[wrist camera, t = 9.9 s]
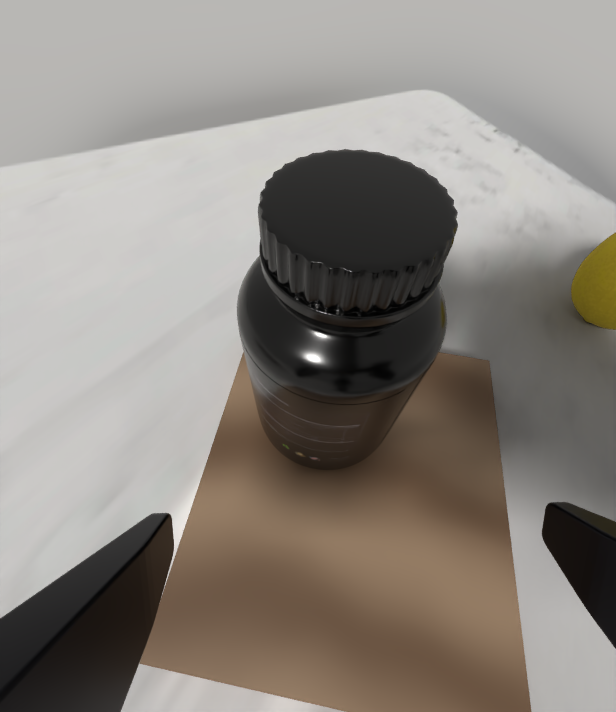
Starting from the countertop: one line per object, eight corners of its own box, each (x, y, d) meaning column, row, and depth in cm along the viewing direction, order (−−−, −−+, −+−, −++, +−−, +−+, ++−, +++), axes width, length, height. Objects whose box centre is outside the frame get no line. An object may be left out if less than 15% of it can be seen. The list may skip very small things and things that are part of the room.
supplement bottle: (288, 338, 21) (286, 107, 11) (401, 376, 20) (517, 159, 10) (233, 444, 17) (153, 247, 7) (368, 498, 16) (497, 356, 6)
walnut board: (512, 739, 13) (536, 755, 12) (152, 656, 14) (139, 663, 13) (477, 373, 22) (489, 360, 21) (255, 335, 23) (253, 321, 21)
